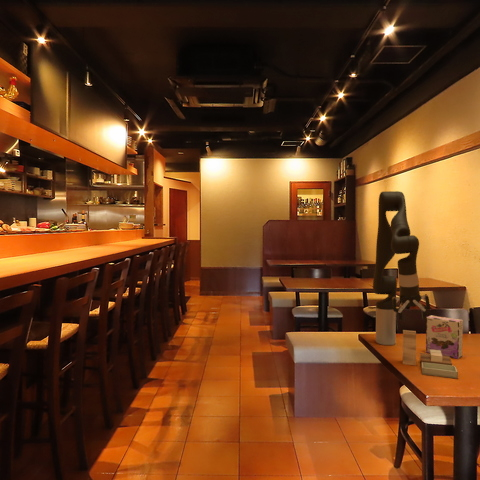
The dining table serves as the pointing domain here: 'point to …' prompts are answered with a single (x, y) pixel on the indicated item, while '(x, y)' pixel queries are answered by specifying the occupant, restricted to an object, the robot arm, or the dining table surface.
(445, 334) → the candy box
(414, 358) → the block
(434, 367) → the tray
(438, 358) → the tile
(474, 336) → the dining table surface
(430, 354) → the tile
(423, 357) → the flat square baseboard
